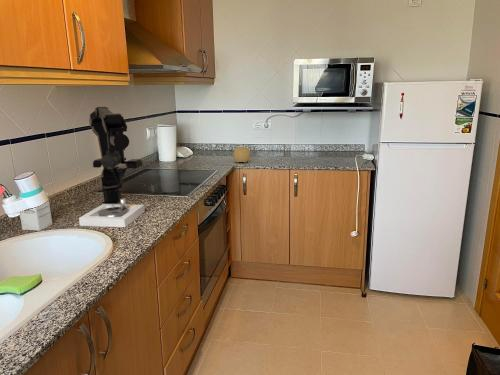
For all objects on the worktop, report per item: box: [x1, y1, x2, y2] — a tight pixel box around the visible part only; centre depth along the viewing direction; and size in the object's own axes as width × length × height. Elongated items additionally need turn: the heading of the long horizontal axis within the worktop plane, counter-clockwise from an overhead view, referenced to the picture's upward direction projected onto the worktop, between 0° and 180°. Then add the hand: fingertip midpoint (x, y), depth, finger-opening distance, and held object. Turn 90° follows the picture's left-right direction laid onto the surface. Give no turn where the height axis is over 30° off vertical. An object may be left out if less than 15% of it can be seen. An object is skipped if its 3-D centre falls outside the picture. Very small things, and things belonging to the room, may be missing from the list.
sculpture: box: [233, 146, 251, 163], centre depth 257 cm, size 12×12×11 cm
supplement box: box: [19, 192, 53, 232], centre depth 139 cm, size 7×7×13 cm
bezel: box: [78, 203, 146, 228], centre depth 149 cm, size 18×18×3 cm
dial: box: [98, 197, 128, 217], centre depth 148 cm, size 11×11×6 cm
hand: (119, 184), depth 154 cm, fingers closed
